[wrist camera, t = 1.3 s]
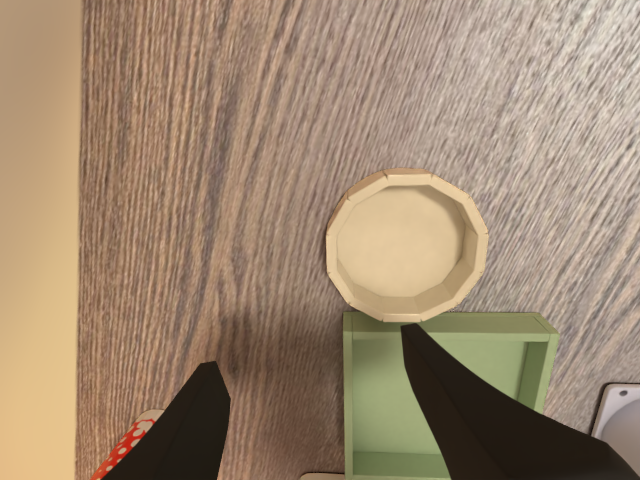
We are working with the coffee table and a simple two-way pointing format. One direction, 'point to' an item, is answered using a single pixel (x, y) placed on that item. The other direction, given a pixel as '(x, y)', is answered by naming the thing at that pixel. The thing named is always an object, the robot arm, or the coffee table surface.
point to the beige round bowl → (405, 245)
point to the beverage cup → (128, 441)
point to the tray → (399, 400)
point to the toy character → (322, 476)
